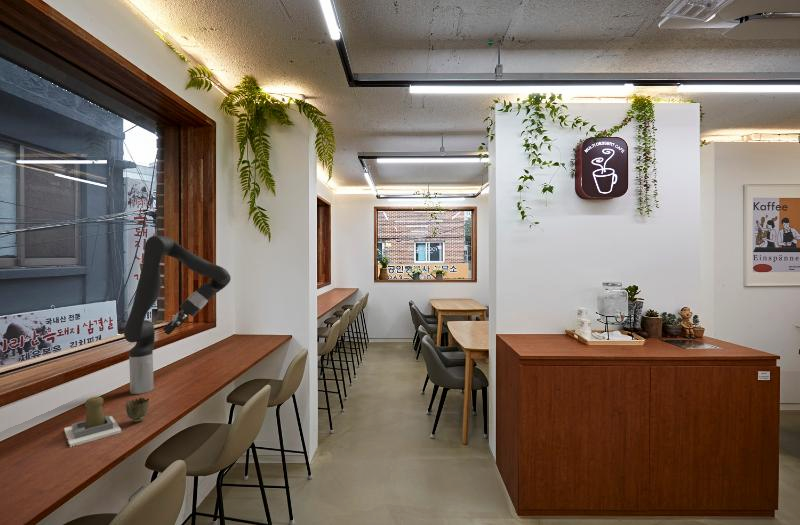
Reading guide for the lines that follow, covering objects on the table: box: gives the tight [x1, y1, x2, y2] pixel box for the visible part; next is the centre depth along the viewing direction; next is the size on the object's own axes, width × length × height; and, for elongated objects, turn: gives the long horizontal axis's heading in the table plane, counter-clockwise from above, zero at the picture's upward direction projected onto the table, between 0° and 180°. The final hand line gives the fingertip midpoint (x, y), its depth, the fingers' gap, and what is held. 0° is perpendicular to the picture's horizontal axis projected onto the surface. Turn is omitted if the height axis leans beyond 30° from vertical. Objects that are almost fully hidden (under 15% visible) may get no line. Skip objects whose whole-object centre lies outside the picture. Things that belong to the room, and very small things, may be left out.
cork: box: [84, 396, 105, 429], centre depth 138 cm, size 6×6×11 cm
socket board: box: [63, 414, 122, 448], centre depth 137 cm, size 18×14×3 cm
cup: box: [125, 397, 150, 424], centre depth 145 cm, size 8×7×8 cm
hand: (165, 332), depth 164 cm, fingers open, 8 cm apart
